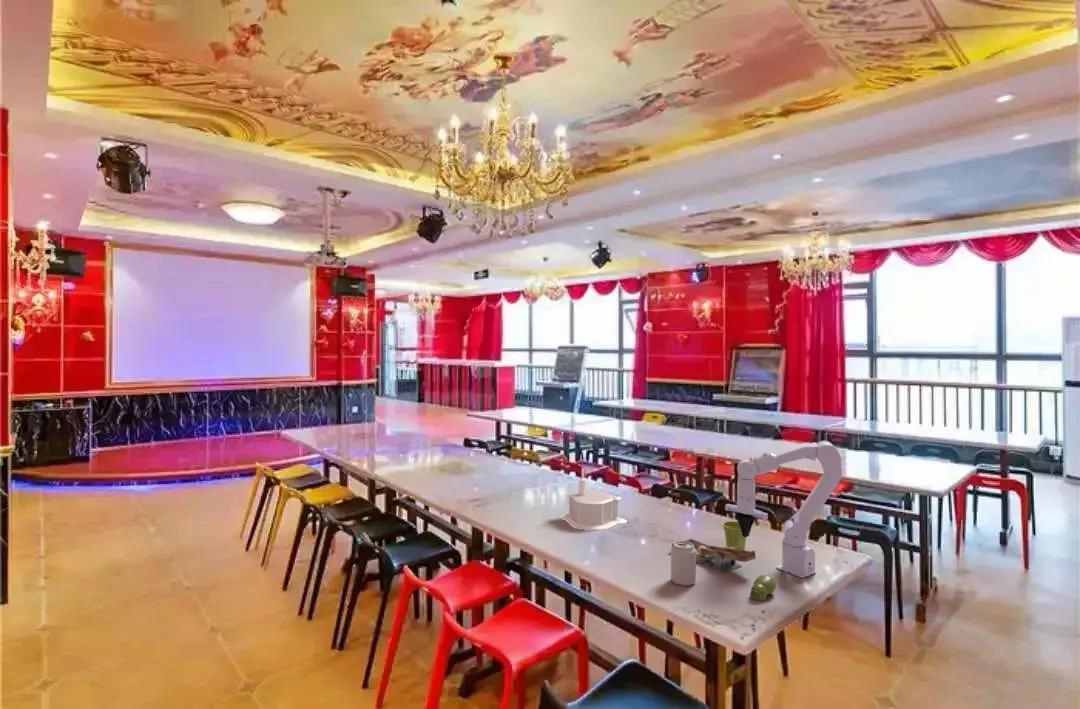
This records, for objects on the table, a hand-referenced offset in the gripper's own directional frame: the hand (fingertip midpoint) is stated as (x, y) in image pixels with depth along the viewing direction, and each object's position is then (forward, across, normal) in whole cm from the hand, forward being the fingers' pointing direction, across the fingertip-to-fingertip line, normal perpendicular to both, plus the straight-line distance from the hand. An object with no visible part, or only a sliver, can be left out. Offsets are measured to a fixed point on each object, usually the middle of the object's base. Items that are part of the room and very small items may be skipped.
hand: (745, 536), depth 188 cm
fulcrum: (+9, +3, +8) cm, 12 cm away
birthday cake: (+10, +66, +6) cm, 67 cm away
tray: (+9, +16, +6) cm, 19 cm away
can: (+10, +4, +29) cm, 31 cm away
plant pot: (+10, +10, -10) cm, 17 cm away
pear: (+10, -16, +18) cm, 26 cm away
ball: (+7, +12, +7) cm, 16 cm away
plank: (+6, +1, +4) cm, 7 cm away
